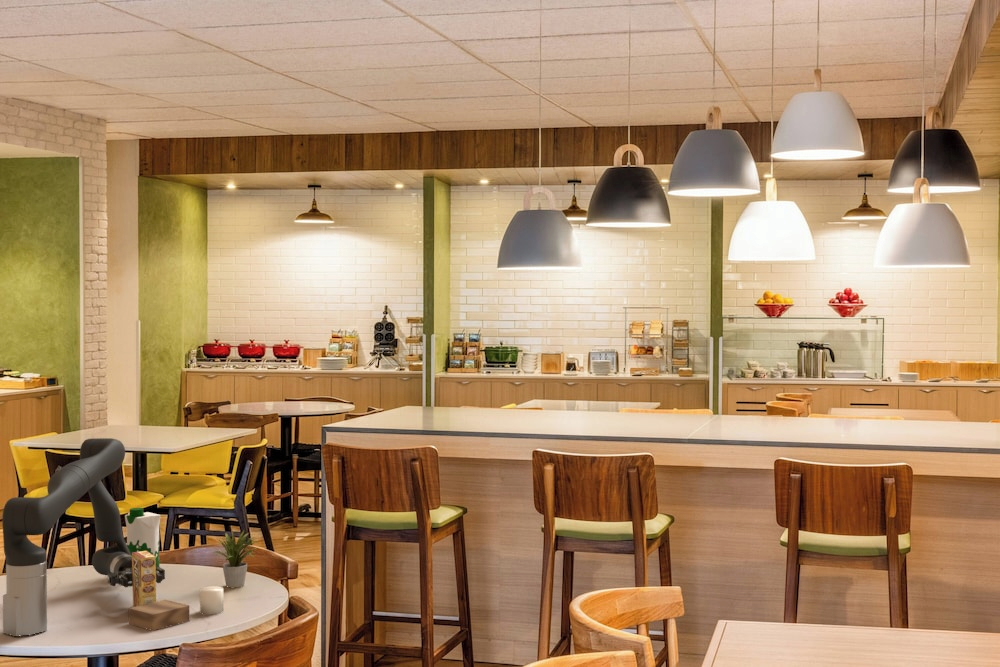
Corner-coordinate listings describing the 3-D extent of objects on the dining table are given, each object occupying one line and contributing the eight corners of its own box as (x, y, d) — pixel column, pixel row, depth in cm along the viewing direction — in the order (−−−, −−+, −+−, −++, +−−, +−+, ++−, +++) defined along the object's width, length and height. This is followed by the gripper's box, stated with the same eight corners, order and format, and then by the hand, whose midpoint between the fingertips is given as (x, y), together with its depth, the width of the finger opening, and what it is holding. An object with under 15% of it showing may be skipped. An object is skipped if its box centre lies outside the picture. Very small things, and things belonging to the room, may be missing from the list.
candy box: (157, 614, 296) (156, 556, 296) (140, 616, 294) (140, 558, 294) (147, 606, 304) (147, 550, 304) (131, 609, 301) (131, 552, 301)
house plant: (254, 593, 319) (253, 535, 319) (205, 592, 319) (205, 535, 319) (265, 581, 333) (265, 525, 333) (218, 580, 333) (218, 525, 333)
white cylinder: (210, 615, 295) (210, 593, 295) (195, 612, 299) (195, 589, 299) (228, 611, 300) (228, 588, 300) (213, 607, 303) (213, 585, 303)
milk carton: (122, 574, 342) (121, 508, 341) (149, 569, 348) (149, 504, 348) (137, 578, 336) (136, 511, 335) (164, 573, 342) (164, 507, 342)
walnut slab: (153, 630, 281) (152, 614, 281) (128, 623, 287) (128, 608, 287) (189, 621, 290) (189, 605, 290) (165, 614, 296) (165, 599, 296)
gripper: (100, 559, 309) (115, 570, 295) (152, 553, 316) (170, 564, 303) (100, 586, 309) (116, 599, 295) (153, 580, 316) (170, 591, 303)
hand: (143, 581), depth 299 cm, fingers open, 8 cm apart
